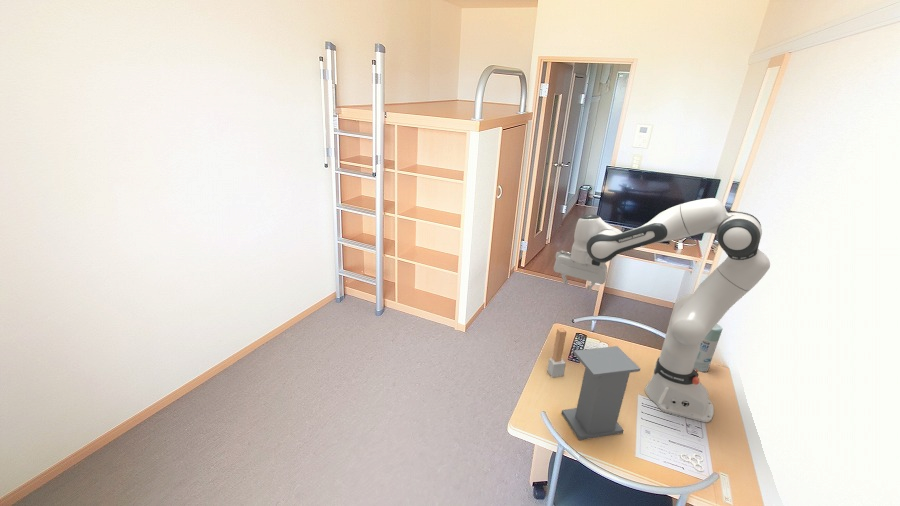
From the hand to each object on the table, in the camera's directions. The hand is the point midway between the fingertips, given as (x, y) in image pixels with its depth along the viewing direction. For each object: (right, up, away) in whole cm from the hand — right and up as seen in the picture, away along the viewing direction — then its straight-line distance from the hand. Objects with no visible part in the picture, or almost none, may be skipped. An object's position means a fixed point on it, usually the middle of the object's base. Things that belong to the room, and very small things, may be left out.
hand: (576, 287), depth 165 cm
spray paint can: (+53, -34, +7) cm, 63 cm away
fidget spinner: (+24, -51, -39) cm, 68 cm away
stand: (-3, -44, -26) cm, 51 cm away
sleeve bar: (-9, -24, -4) cm, 26 cm away
